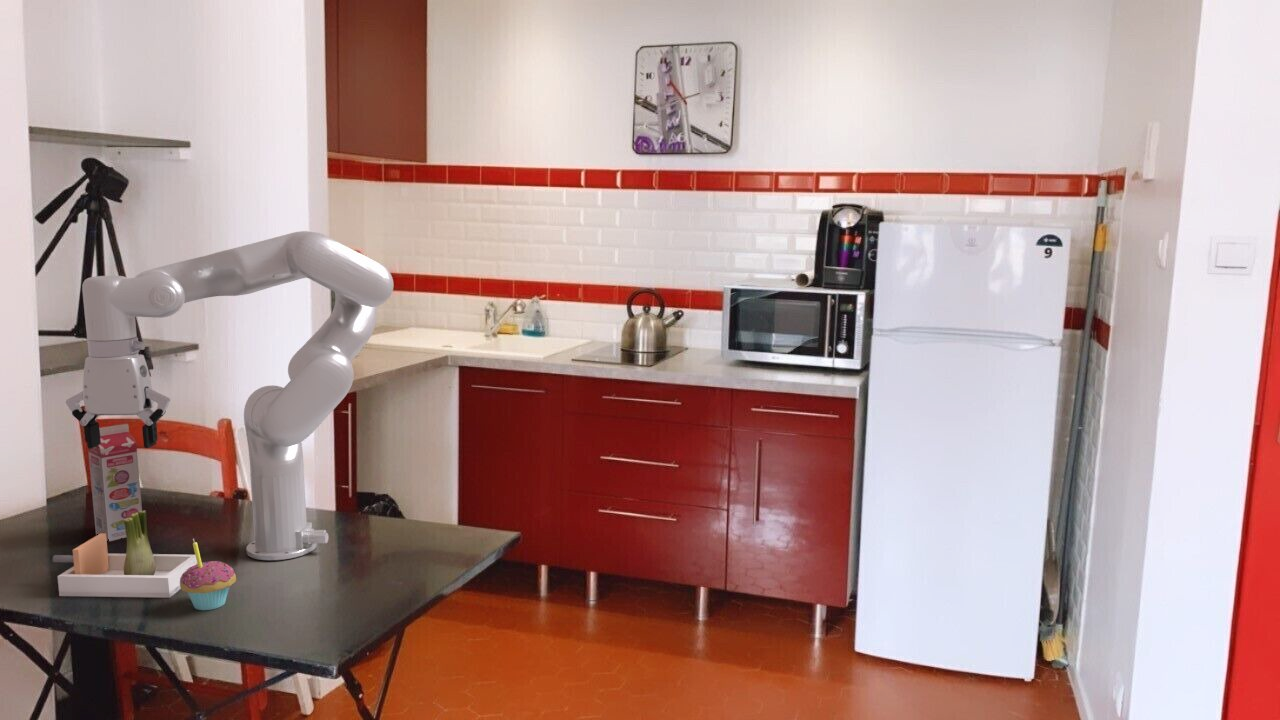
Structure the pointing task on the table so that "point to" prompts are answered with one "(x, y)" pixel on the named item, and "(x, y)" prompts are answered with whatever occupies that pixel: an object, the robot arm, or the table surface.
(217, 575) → the cupcake
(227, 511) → the table surface
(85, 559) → the pusher
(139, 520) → the fennel bulb
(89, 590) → the white tray
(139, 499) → the juice carton
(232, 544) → the table surface
